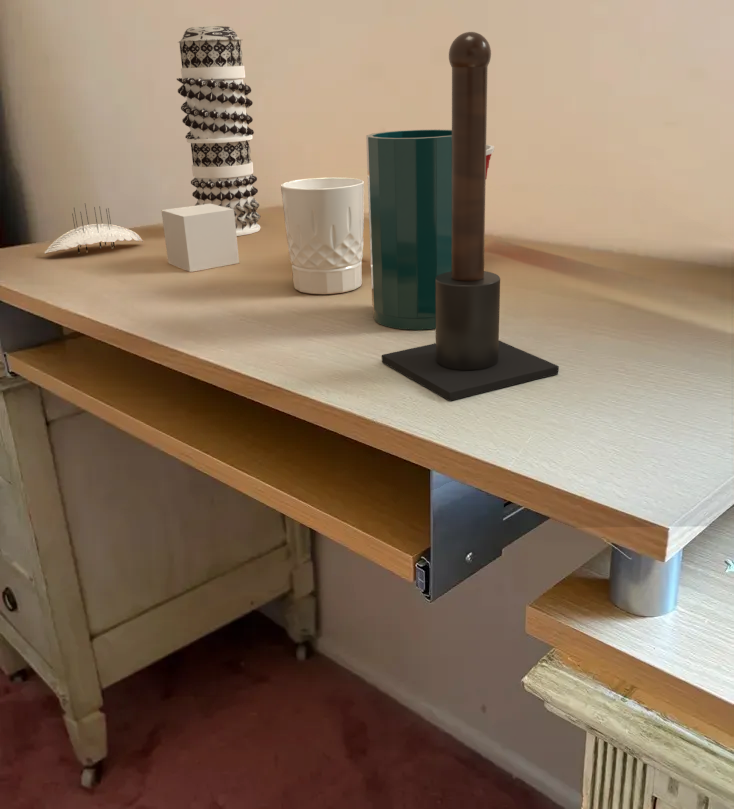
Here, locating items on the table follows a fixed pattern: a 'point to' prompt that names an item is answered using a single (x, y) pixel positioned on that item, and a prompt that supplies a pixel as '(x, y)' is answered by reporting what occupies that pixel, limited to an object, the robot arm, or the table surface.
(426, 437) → the table surface
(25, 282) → the table surface
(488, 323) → the bottle brush
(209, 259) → the off-white cube
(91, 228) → the pincushion
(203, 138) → the bracelet display stand
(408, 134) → the tumbler
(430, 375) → the mat
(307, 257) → the white cup
